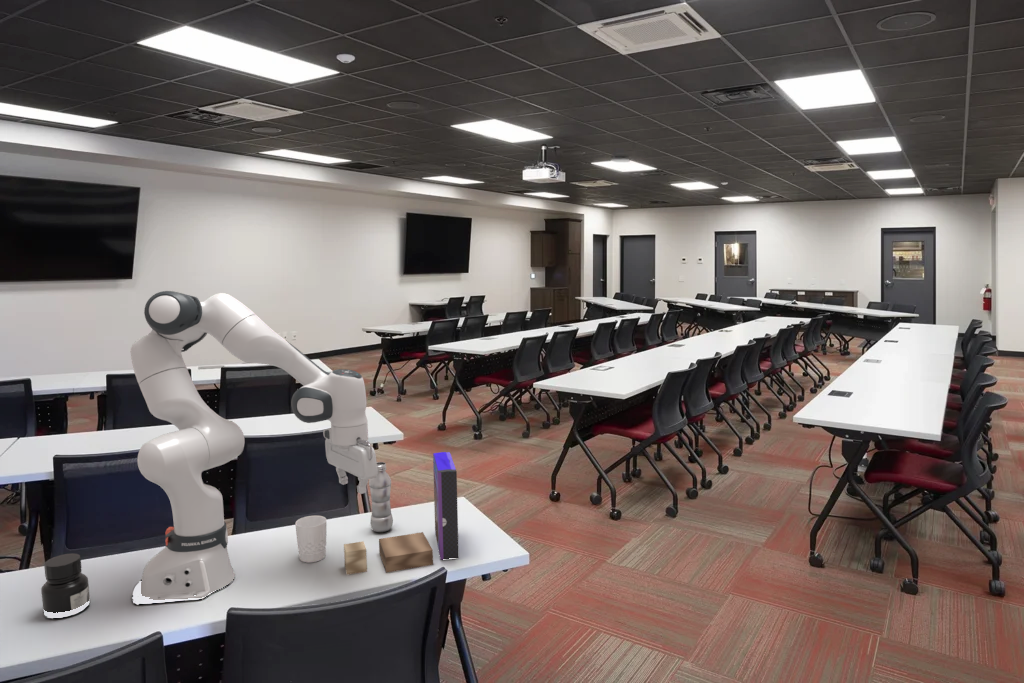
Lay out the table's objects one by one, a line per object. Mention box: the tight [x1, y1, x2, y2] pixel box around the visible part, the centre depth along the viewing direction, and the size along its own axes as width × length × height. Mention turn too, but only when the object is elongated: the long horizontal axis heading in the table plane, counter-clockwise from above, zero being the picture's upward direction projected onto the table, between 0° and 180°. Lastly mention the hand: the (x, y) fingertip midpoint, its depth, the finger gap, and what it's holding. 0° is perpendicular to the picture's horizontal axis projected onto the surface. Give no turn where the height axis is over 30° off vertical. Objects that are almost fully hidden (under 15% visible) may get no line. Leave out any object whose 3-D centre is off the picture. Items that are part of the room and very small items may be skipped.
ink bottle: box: [41, 553, 91, 613], centre depth 150 cm, size 10×9×12 cm
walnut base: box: [378, 531, 434, 573], centre depth 174 cm, size 12×12×4 cm
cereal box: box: [432, 451, 460, 561], centre depth 181 cm, size 17×5×24 cm, turn 11°
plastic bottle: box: [368, 461, 394, 533], centre depth 192 cm, size 6×7×20 cm
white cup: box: [295, 515, 327, 563], centre depth 176 cm, size 8×8×10 cm
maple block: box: [343, 540, 368, 576], centre depth 169 cm, size 5×5×6 cm
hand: (352, 488), depth 167 cm, fingers open, 8 cm apart
